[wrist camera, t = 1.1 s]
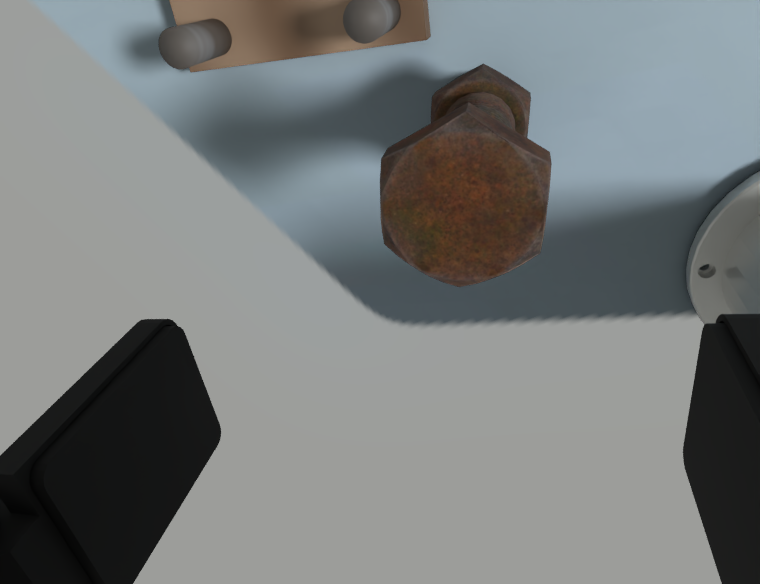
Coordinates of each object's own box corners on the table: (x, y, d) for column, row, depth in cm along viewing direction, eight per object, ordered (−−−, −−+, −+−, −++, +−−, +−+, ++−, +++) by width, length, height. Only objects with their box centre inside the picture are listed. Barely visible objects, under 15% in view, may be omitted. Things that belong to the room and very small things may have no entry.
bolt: (458, 167, 32) (420, 308, 19) (413, 86, 30) (339, 184, 17) (556, 116, 29) (587, 240, 17) (514, 25, 27) (513, 87, 15)
